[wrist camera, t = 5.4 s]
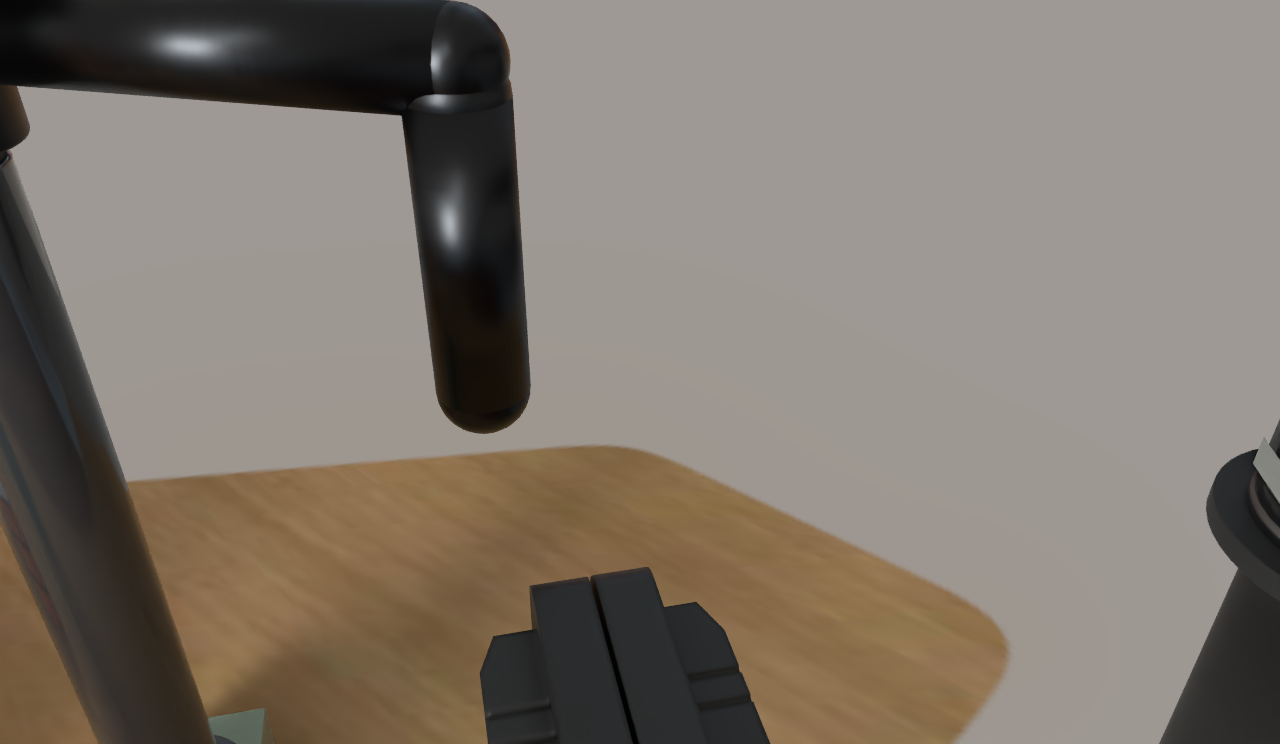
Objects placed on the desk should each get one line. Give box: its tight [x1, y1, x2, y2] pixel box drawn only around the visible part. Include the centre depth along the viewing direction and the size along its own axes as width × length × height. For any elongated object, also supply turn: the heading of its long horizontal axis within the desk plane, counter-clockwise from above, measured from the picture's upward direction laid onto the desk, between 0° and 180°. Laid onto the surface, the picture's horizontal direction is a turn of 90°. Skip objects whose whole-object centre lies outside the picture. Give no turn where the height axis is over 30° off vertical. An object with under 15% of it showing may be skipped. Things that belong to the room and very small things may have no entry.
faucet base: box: [0, 150, 275, 744], centre depth 22 cm, size 4×6×20 cm, turn 13°
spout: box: [0, 0, 531, 434], centre depth 16 cm, size 12×3×9 cm, turn 78°
